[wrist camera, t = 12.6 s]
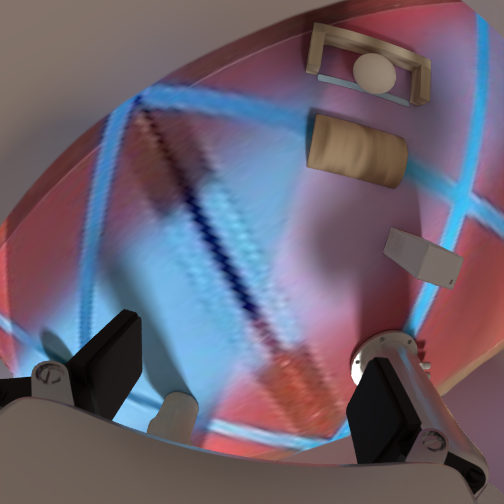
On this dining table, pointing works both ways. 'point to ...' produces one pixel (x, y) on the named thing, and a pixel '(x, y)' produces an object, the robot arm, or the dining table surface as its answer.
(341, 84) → the tape line
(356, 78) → the ball
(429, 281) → the skincare box
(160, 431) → the vase
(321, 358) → the dining table surface
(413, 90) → the rail
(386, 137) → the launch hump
